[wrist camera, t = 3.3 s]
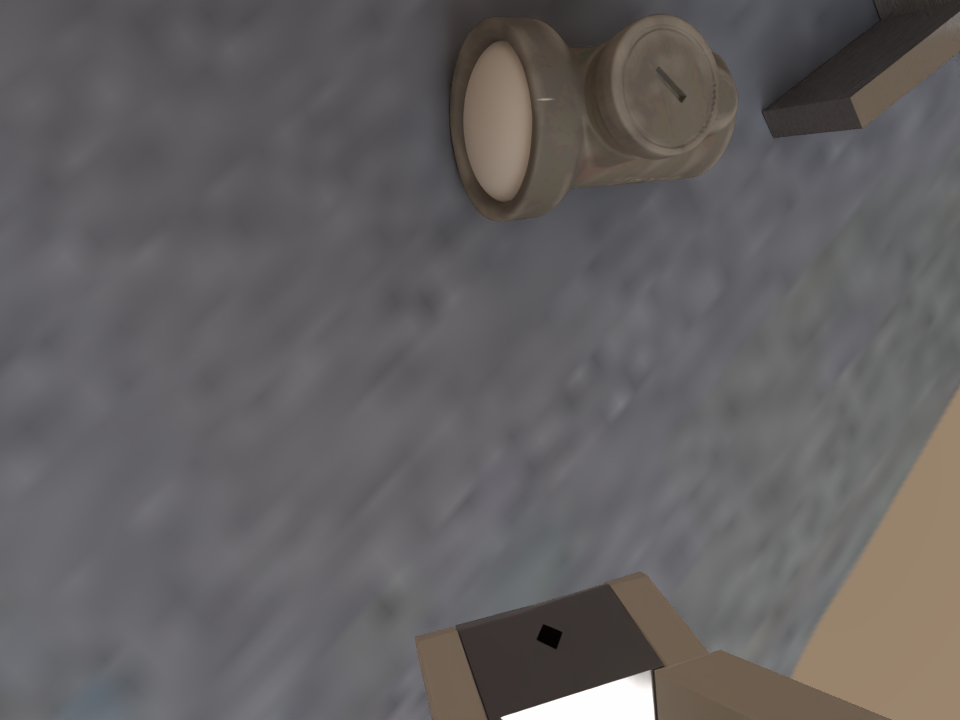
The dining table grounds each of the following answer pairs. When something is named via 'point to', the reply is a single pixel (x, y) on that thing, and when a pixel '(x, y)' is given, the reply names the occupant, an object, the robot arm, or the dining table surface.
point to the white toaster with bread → (871, 69)
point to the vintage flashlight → (584, 111)
